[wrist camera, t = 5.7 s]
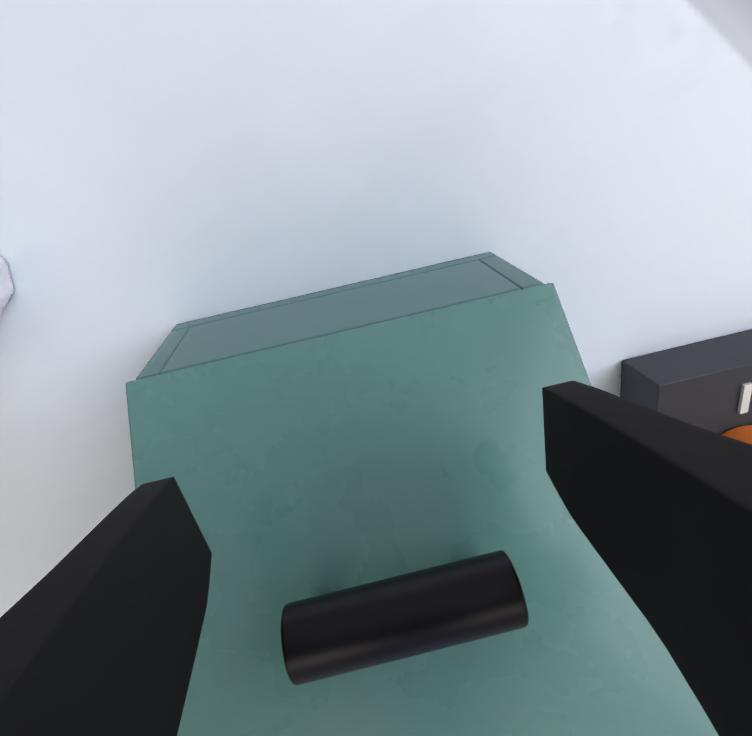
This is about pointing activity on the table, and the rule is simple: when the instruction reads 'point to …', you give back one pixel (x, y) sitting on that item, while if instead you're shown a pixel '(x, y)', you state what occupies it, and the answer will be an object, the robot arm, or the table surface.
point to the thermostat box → (696, 382)
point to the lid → (400, 539)
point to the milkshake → (5, 284)
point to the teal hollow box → (336, 311)
